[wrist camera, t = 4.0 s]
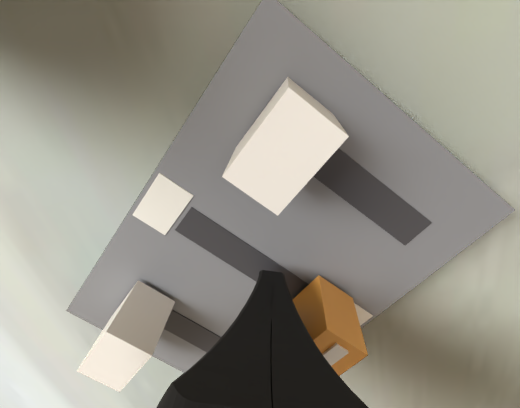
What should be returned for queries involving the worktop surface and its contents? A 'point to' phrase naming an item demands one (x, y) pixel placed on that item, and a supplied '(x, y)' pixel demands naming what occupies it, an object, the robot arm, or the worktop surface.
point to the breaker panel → (308, 211)
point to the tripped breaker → (332, 323)
